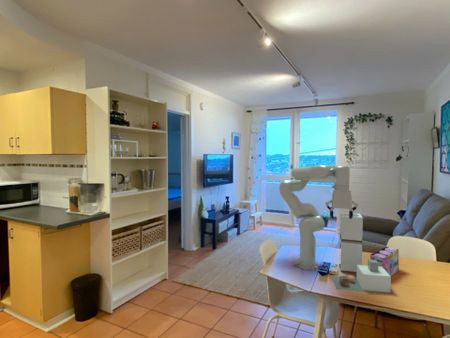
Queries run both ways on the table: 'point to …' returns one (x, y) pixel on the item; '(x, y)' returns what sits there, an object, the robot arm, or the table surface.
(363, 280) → the cover
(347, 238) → the tall pale grey box
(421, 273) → the table surface
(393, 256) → the gum box
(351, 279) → the brown egg
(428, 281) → the table surface
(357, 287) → the board
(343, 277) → the walnut block
